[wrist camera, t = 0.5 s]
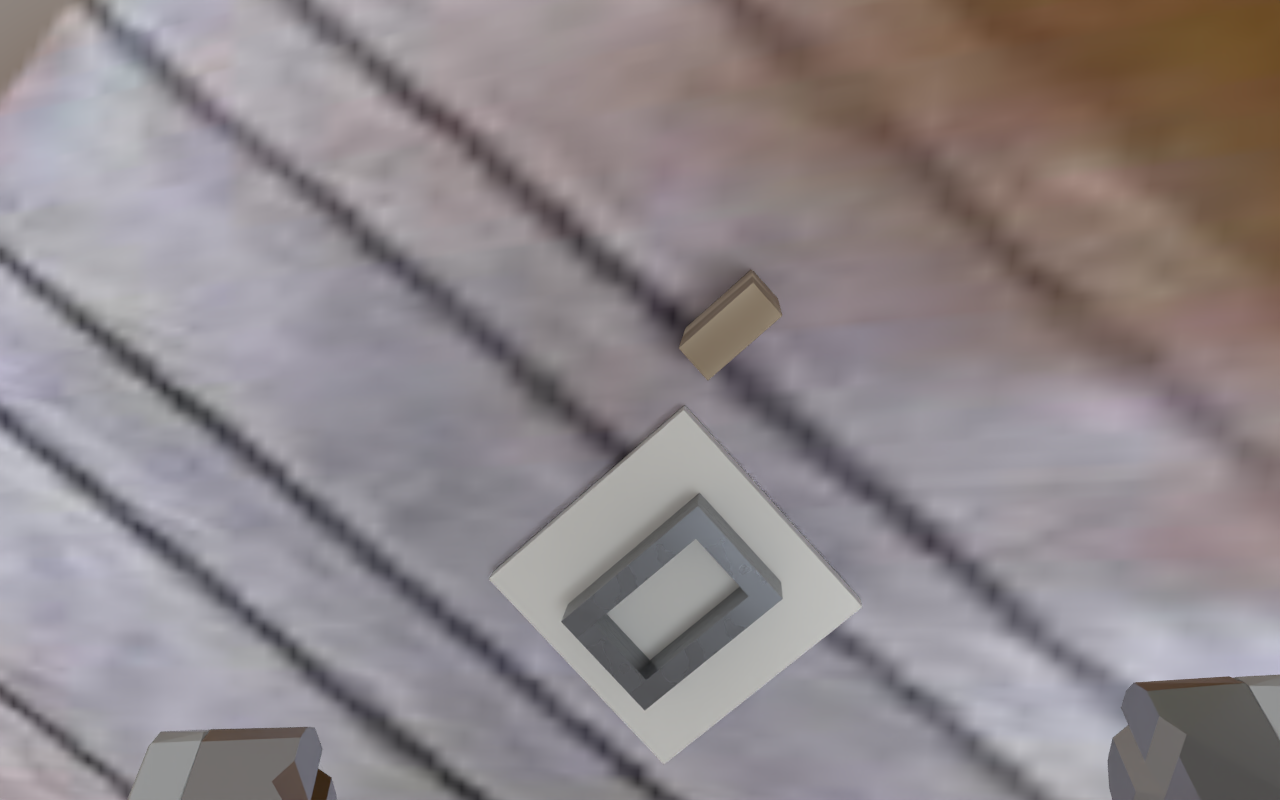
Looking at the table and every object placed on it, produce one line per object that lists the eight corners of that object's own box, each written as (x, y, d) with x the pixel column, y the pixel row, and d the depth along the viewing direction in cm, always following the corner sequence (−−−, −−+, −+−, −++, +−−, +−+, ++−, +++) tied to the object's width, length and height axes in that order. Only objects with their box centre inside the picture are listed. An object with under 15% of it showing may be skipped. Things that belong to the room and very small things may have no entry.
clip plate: (860, 598, 63) (862, 607, 62) (665, 754, 65) (663, 764, 64) (684, 405, 61) (683, 409, 60) (493, 571, 64) (488, 579, 63)
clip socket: (781, 581, 62) (782, 599, 59) (648, 689, 63) (644, 710, 61) (699, 492, 61) (697, 506, 59) (568, 604, 63) (561, 621, 60)
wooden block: (777, 298, 60) (782, 315, 53) (711, 356, 61) (707, 380, 54) (751, 269, 60) (752, 282, 53) (685, 327, 61) (678, 348, 54)
